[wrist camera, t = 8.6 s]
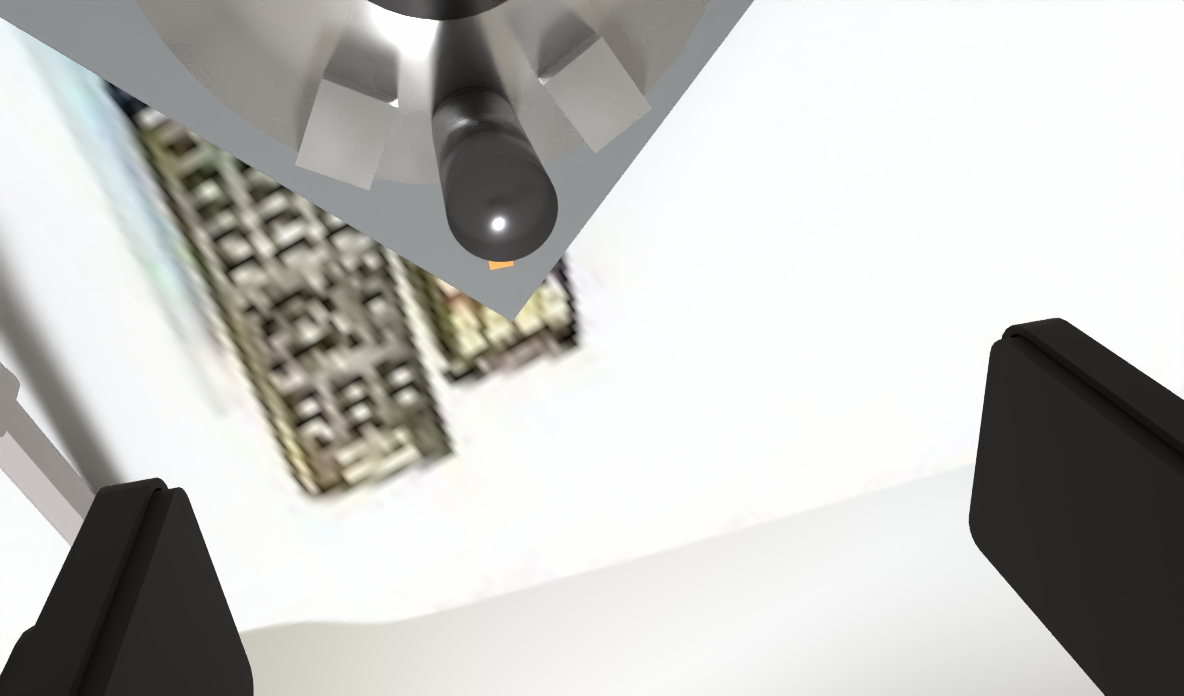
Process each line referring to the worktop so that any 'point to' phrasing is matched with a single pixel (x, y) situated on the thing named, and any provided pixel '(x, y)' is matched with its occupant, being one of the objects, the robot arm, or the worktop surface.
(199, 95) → the mount plate
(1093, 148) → the worktop surface
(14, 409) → the caliper
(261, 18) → the grey round knob
